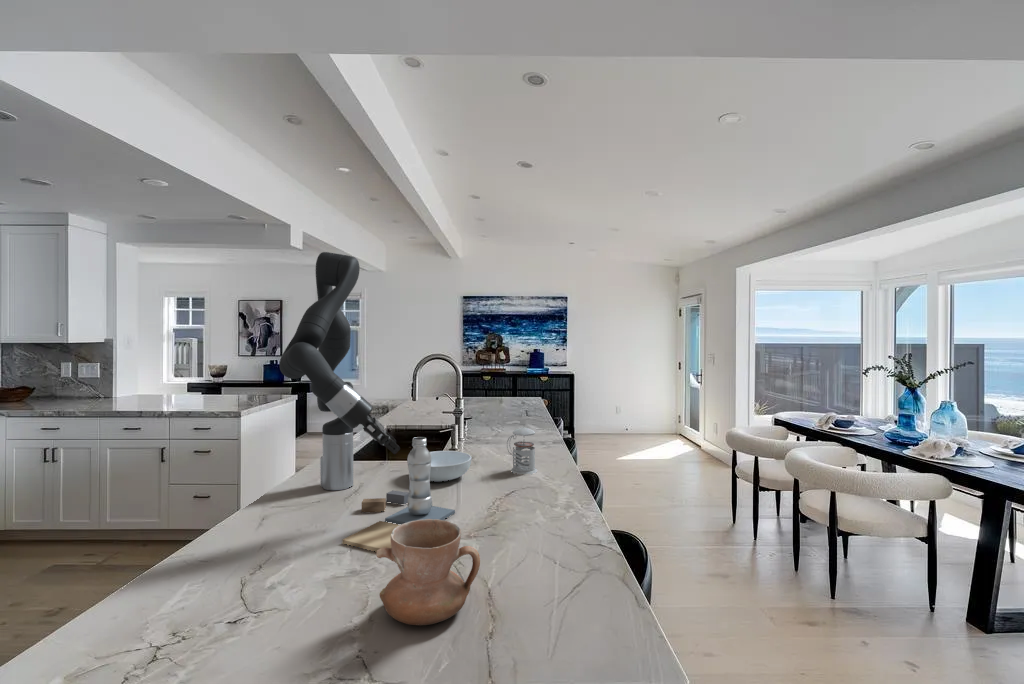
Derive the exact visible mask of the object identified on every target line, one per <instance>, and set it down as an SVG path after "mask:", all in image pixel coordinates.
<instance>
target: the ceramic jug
mask: <svg viewBox="0 0 1024 684" xmlns="http://www.w3.org/2000/svg"><path fill="white" fill-rule="evenodd" d="M461 537H462V529H461V528H460V526H458V525H457V524H456V523H454V522H451V521H448V520H439V519H422V520H416V521H411V522H407V523H404V524H401V525H399V526H397V527H396V528H395V529H394V530H393V531H392V534H391V547H392V548H387V547H385V548H381V549H379V550H377V552H376V557H377V558H378V559H382V558H386V559H388V560H389V561H391V562H393V563H395V564H397V567H398V569H399V571H400V572H399V573H398V574H396V575H395V576H393V578H392V579H391V580H389V581H388V583H387V584H386V585H385V587H384V588H382V590H380V592H379V598H380V600H381V602H382V604H383V608H384V609H385V611H386V612H387V614H388V615H389V616H390V617H391V618H392V619H394V620H395V621H398V622H399V623H401V624H402V623H403V624H406V625H410V626H428V625H434V624H435V625H436V624H437V623H440V622H444V621H446V620H448V619H450V618H451V617H453V616H455V615H456V614H457V613H458V612H460V610H461V609H462V608H463V607H464V605H465V603H466V600H467V597H468V596H469V593H470V591H471V586H472V584H473V582H474V581H475V579H476V577H477V575H478V573H479V570H480V566H481V557H480V553H479V552H478V550H477V549H476V547H472V546H469V545H464V546H462V547H460V544H461V543H460V542H461V539H462V538H461ZM465 555H470V557H471V559H472V561H471V562H472V566H471V569H470V571H469V574H468V577H467V578H466V581H464V580H463V579H462V577H460V575H458V574H457V573H456V572H454V571H453V570H451V568H452V565H453V564H454V563H455V561H457V560H458V559H459V558H461V557H463V556H465Z"/></svg>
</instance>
